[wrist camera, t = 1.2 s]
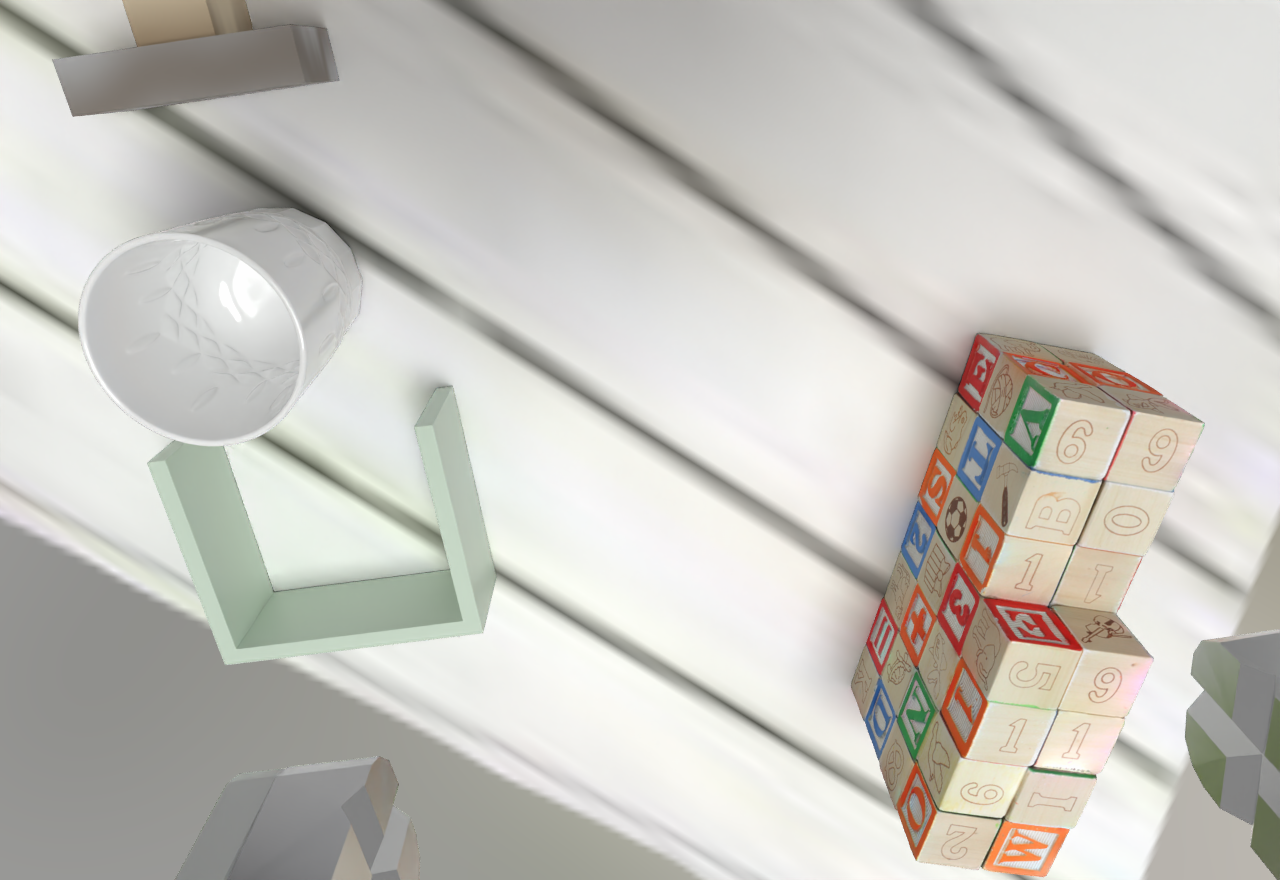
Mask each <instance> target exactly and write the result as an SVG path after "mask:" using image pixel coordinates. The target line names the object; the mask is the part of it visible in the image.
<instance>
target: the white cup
mask: <svg viewBox="0 0 1280 880" xmlns="http://www.w3.org/2000/svg"><path fill="white" fill-rule="evenodd" d="M361 292H362V278H361V276H360V273H359V270H358V267H357V265H356V262H355V259H354V256H353V253H352V251H351V249H350V248H349V246H348V245H347V244H346V243H345V242H344V241H343V240H342V239H341V238H340V237H339V236H338V235H337V234H336V233H335V232H334V230H333V229H332V228H331V227H330V226H329V225H328V224H327V223H326V222H323V221H321V220H319V219H317V218H314V217H312V216H310V215H308V214H306V213H303V212H301V211H299V210H297V209H294V208H257V209H254V210H250V211H245V212H237V213H231V214H226V215H222V216H219V217H213V218H208V219H204V220H200V221H197V222H193V223H189V224H186V225H182V226H178V227H175V228H171V229H167V230H163V231H160V232H156V233H152V234H148V235H144V236H141V237H137V238H135V239H132V240H130V241H128V242H125V243H123V244H122V245H120V246H118V247H117V248H115V249H114V250H112V251H111V252H110V253H108V254H107V255H106V256H105V257H104V258H103V259H102V260H101V261H100V262H99V263H98V264H97V266H96V267H95V268H94V270H93V271H92V273H91V274H90V276H89V278H88V280H87V282H86V284H85V286H84V289H83V292H82V295H81V299H80V304H79V311H78V328H79V336H80V341H81V346H82V349H83V352H84V355H85V358H86V361H87V363H88V365H89V367H90V369H91V371H92V373H93V375H94V377H95V378H96V380H97V382H98V383H99V385H100V386H101V387H102V389H103V390H104V392H105V393H106V394H107V395H108V396H109V398H110V399H111V400H112V401H113V402H114V403H115V404H116V405H117V406H118V407H119V408H120V409H121V410H122V411H124V412H125V413H126V414H127V415H128V416H130V417H131V418H132V419H134V420H135V421H136V422H138V423H139V424H141V425H143V426H144V427H146V428H148V429H149V430H151V431H153V432H155V433H157V434H160V435H162V436H164V437H167V438H169V439H172V440H175V441H179V442H182V443H187V444H192V445H198V446H228V445H234V444H239V443H243V442H246V441H249V440H252V439H254V438H256V437H259V436H261V435H263V434H264V433H266V432H268V431H269V430H271V429H272V428H273V427H275V426H276V425H277V424H278V423H280V422H281V421H282V420H283V419H284V418H285V416H286V415H287V414H288V413H289V412H290V410H291V409H292V408H293V406H294V405H295V404H296V403H297V401H298V400H299V399H300V397H301V396H302V395H303V394H304V392H305V391H306V390H307V388H308V387H309V386H310V385H311V383H312V382H313V381H314V380H315V378H316V377H317V376H318V375H319V373H320V372H321V371H322V369H323V368H324V367H325V366H326V364H327V363H328V362H329V360H330V359H331V358H332V356H333V354H334V353H335V351H336V350H337V348H338V347H339V346H340V344H341V342H342V340H343V337H344V335H345V333H346V332H347V330H348V329H349V328H350V326H351V325H352V323H353V322H354V320H355V319H356V317H357V316H358V314H359V312H360V302H361Z"/></svg>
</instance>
